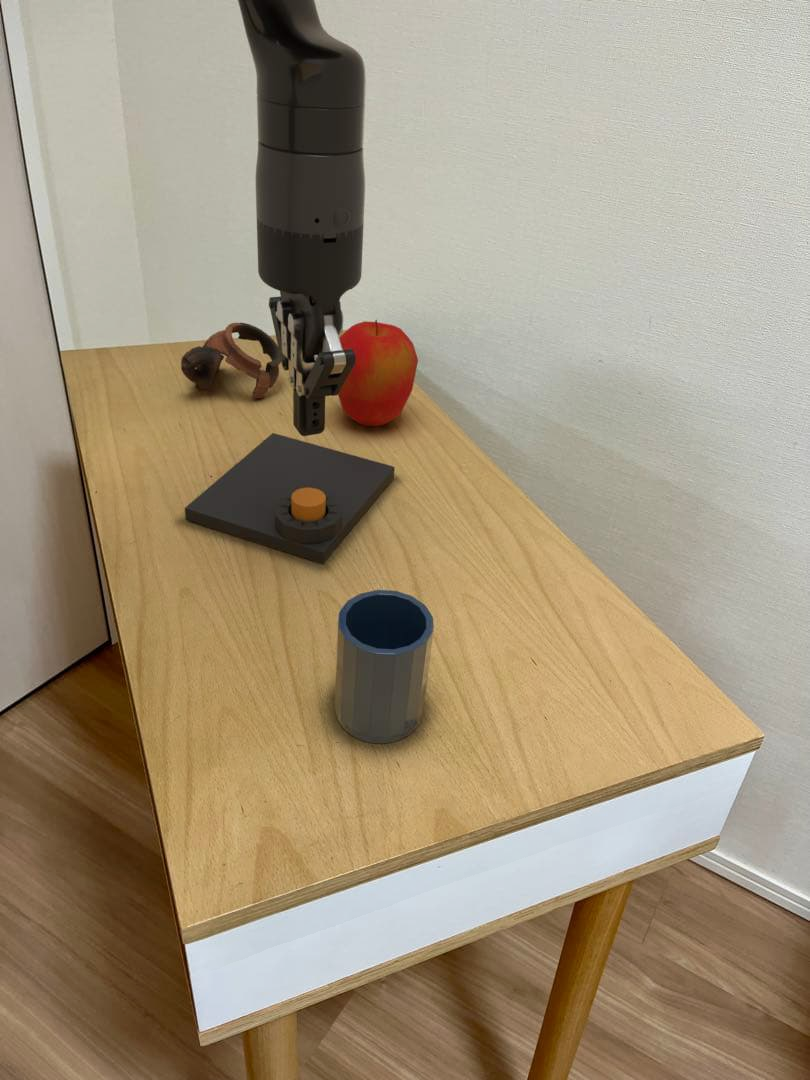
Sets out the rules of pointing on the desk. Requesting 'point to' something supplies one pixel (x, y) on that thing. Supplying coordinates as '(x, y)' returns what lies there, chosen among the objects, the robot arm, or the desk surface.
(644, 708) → the desk surface
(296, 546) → the scale
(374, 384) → the apple
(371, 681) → the cup
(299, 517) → the button
